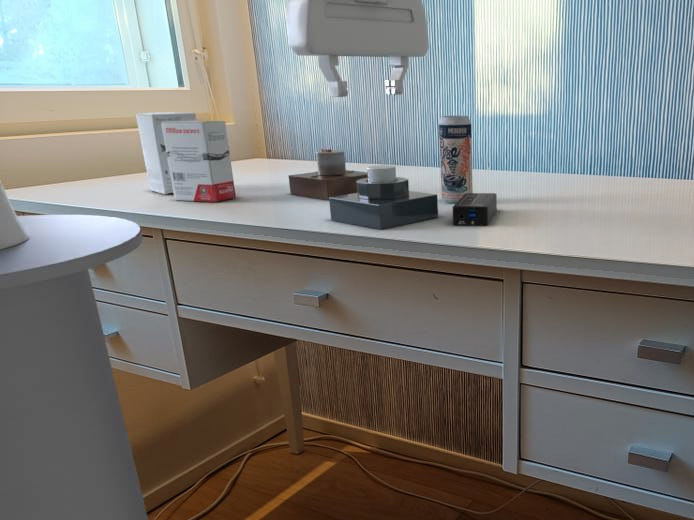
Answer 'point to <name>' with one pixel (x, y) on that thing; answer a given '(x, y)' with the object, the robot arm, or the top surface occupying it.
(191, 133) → the ink box
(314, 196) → the brown rectangular block
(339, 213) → the push button base
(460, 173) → the coffee can
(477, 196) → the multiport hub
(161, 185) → the white packaging box
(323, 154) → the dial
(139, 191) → the top surface
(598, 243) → the top surface
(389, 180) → the white short cylinder
